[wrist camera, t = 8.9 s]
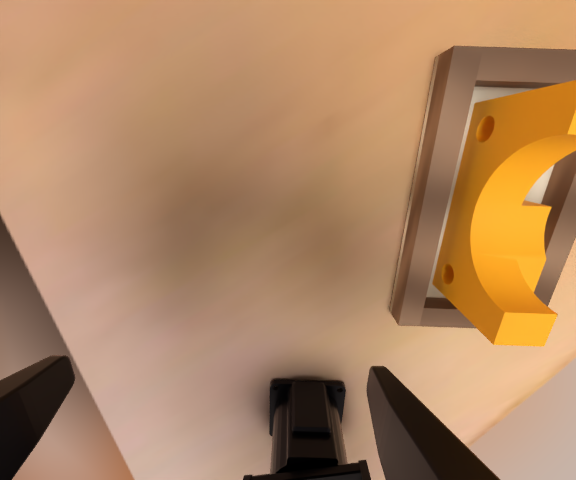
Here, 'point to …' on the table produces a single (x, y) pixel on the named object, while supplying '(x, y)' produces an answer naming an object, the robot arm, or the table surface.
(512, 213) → the pipe clamp
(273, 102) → the table surface
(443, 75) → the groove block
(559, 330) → the table surface
